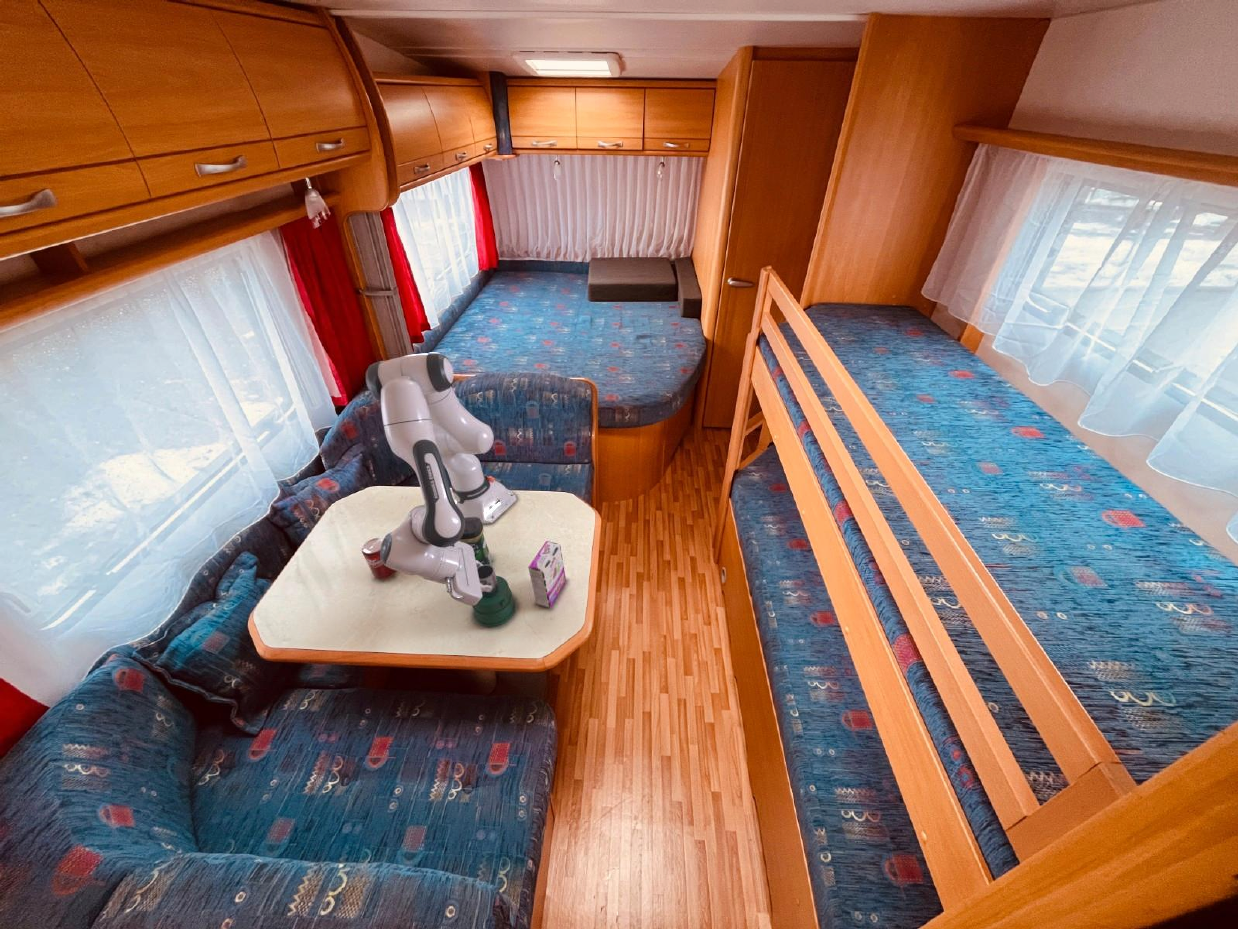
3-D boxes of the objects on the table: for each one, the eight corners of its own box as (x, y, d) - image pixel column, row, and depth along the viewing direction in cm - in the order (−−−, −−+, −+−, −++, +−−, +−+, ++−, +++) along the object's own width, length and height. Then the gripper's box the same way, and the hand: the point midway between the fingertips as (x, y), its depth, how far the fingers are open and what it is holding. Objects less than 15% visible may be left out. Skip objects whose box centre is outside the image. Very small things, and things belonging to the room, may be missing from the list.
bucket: (497, 587, 145) (492, 567, 140) (524, 606, 139) (519, 586, 134) (465, 613, 138) (458, 593, 133) (492, 635, 132) (486, 615, 126)
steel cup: (490, 579, 136) (485, 561, 132) (503, 588, 133) (498, 570, 129) (475, 591, 133) (470, 573, 128) (487, 600, 130) (482, 582, 126)
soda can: (389, 582, 148) (376, 555, 141) (369, 579, 149) (355, 552, 142) (402, 565, 154) (391, 538, 147) (382, 562, 155) (370, 535, 148)
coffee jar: (459, 574, 150) (445, 532, 139) (464, 556, 156) (451, 514, 145) (490, 572, 150) (478, 530, 139) (493, 554, 157) (482, 512, 146)
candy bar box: (552, 576, 148) (546, 539, 138) (566, 581, 147) (561, 543, 137) (535, 604, 140) (527, 566, 130) (550, 609, 138) (543, 571, 128)
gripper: (454, 586, 114) (502, 599, 122) (447, 532, 129) (489, 547, 138) (440, 604, 115) (488, 616, 124) (434, 548, 131) (477, 562, 139)
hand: (488, 579), depth 131 cm, fingers closed on steel cup, 5 cm apart
